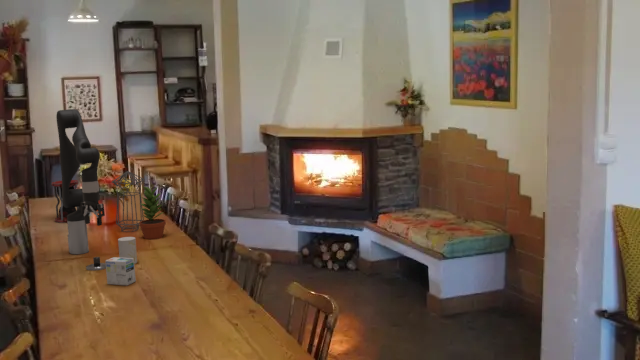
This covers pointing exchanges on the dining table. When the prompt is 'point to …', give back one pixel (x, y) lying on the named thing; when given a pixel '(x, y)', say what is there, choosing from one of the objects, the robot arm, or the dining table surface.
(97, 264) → the lid
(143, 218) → the geometric lantern
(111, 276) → the light bulb box
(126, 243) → the light grey cylinder
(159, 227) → the potted plant
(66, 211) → the hourglass
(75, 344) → the dining table surface
